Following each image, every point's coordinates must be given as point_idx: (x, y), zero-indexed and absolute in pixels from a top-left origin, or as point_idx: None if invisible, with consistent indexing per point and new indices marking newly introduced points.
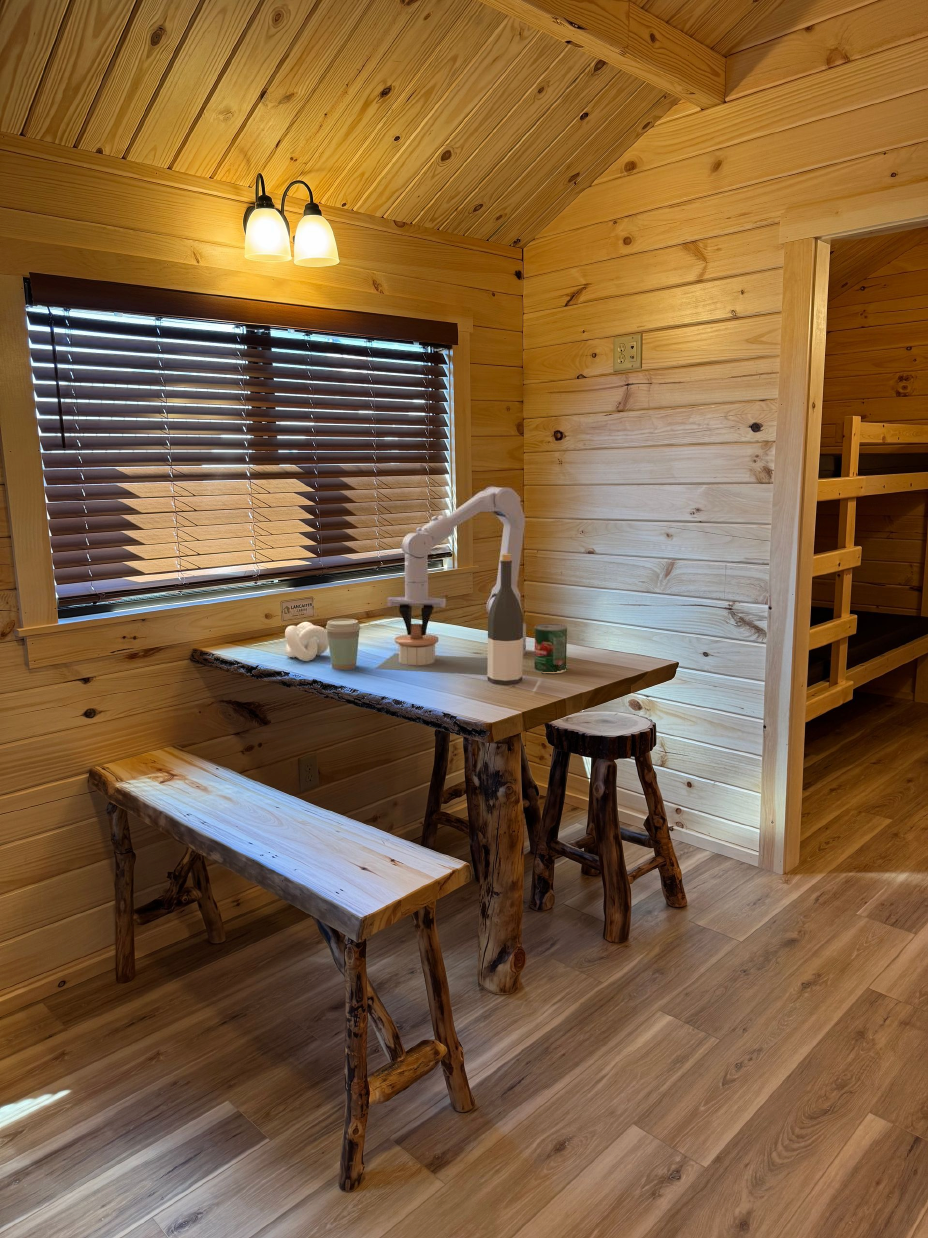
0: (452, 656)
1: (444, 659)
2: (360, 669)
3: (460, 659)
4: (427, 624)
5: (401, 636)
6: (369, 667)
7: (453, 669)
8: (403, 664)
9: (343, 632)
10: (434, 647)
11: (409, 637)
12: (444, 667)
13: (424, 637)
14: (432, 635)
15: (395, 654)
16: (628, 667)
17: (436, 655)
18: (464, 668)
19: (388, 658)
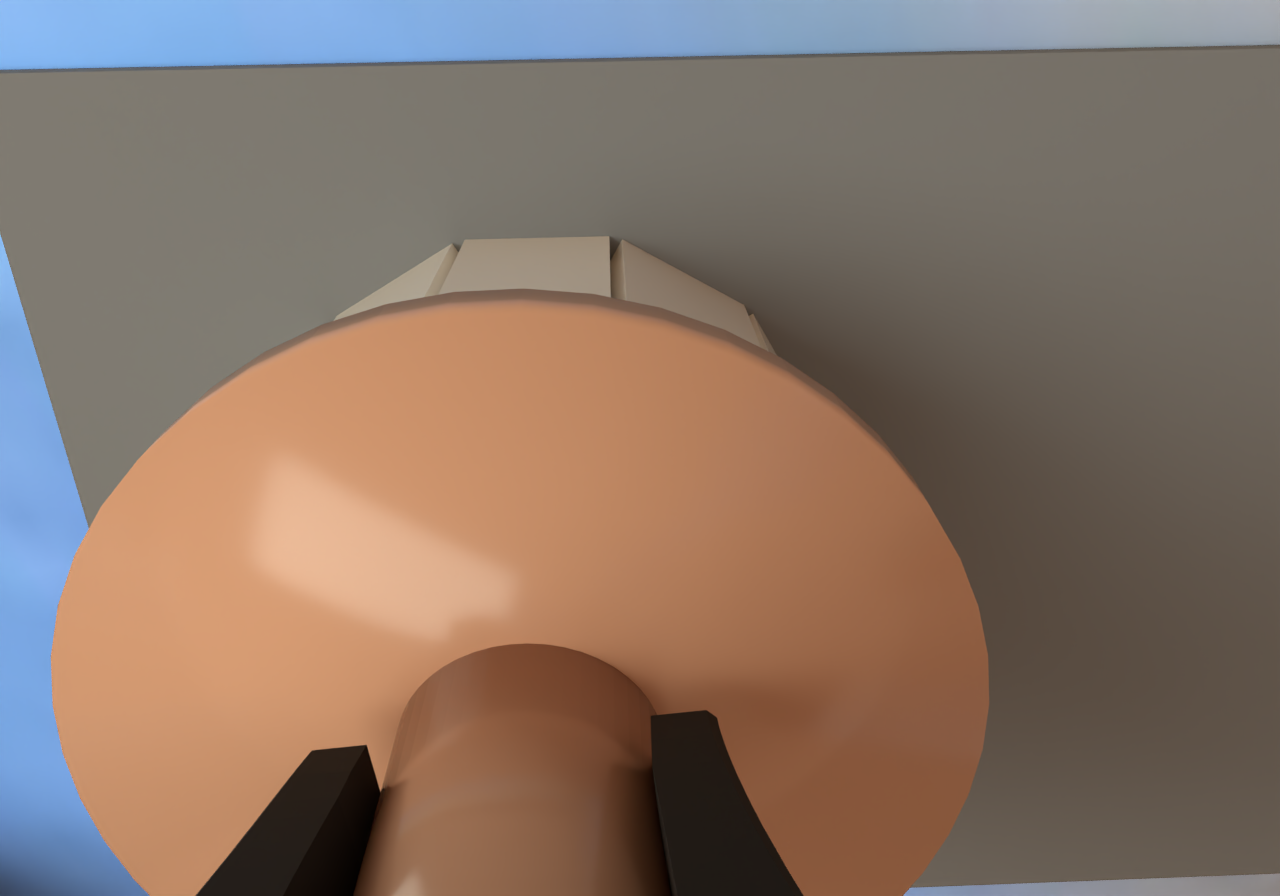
0: (1063, 80)
1: (945, 319)
2: (28, 885)
3: (1205, 260)
4: (783, 874)
5: (140, 683)
6: (70, 800)
7: (1112, 764)
8: None
9: None
10: None
11: (356, 727)
12: (995, 714)
13: (673, 661)
14: (805, 429)
15: (21, 173)
16: None
17: (764, 71)
18: (1248, 699)
19: (76, 465)
